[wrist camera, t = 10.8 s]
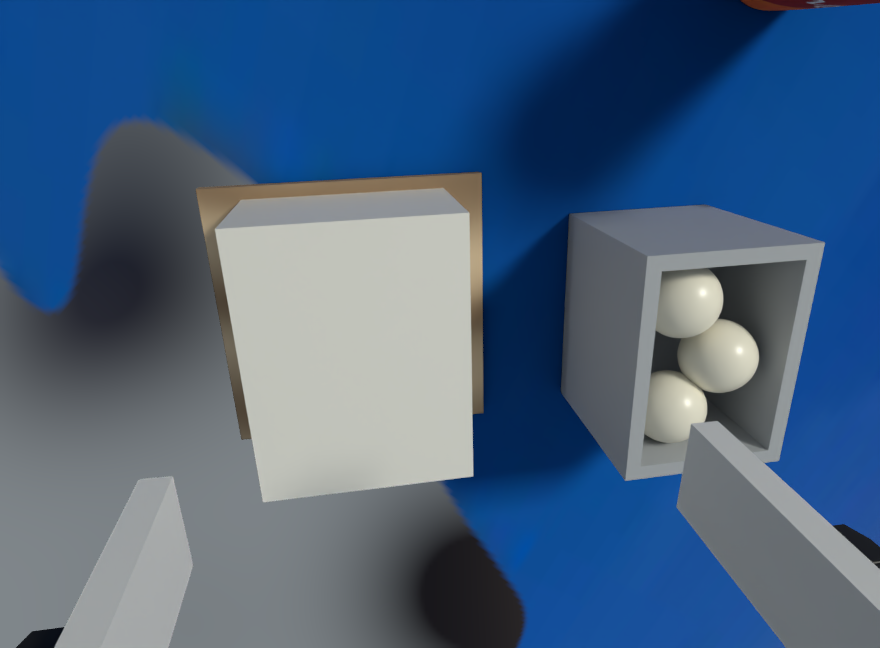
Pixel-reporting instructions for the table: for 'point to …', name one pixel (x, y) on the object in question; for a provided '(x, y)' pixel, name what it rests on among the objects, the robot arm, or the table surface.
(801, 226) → the table surface
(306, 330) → the lid
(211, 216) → the trivet
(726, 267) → the dough box
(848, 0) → the paper cup
